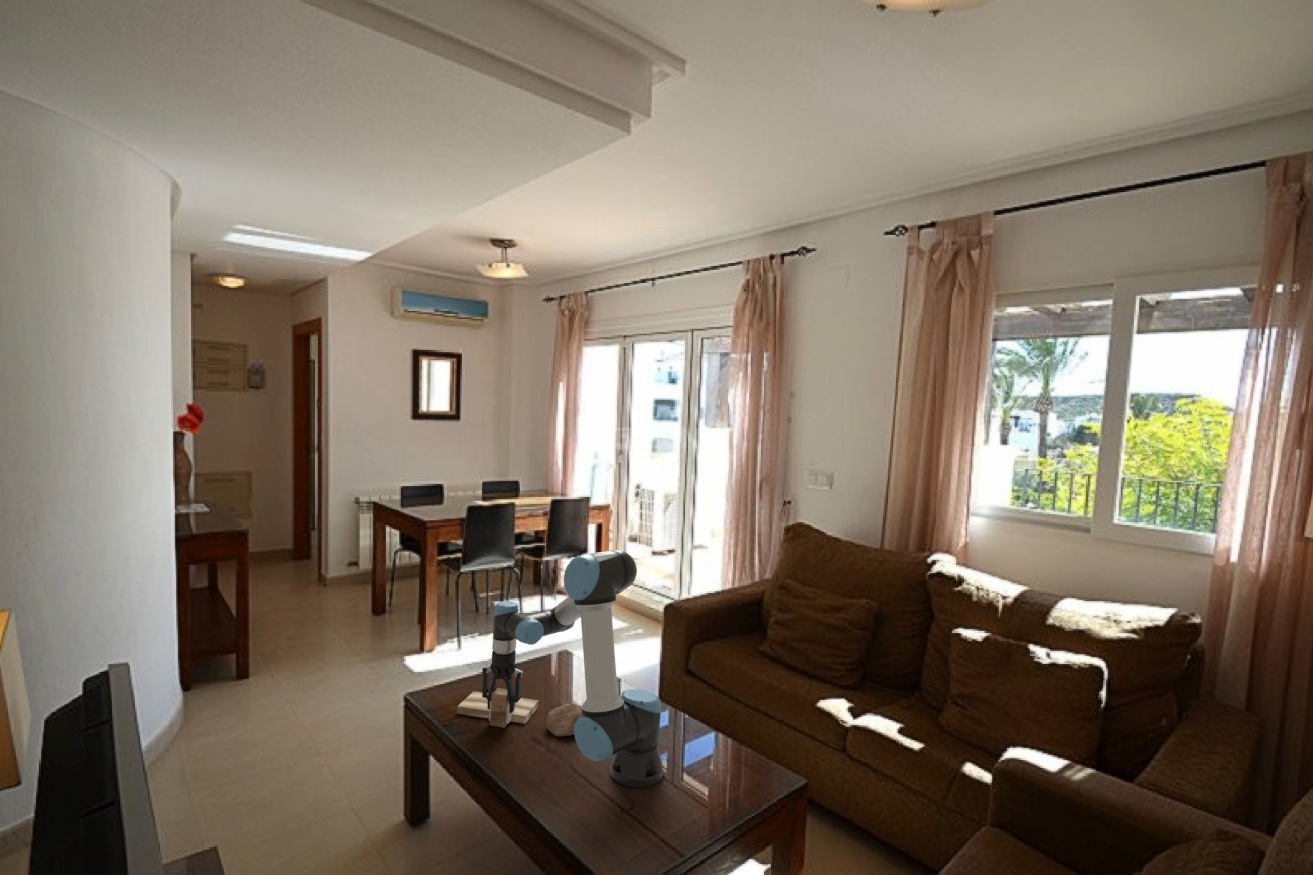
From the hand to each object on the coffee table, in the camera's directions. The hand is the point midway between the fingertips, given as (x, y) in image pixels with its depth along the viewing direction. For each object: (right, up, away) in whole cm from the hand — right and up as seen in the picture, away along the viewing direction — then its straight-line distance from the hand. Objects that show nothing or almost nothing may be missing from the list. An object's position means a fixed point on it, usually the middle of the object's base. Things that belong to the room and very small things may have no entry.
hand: (500, 720), depth 205 cm
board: (-3, -1, +9) cm, 10 cm away
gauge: (+1, -1, +5) cm, 5 cm away
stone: (+21, -3, -2) cm, 22 cm away
